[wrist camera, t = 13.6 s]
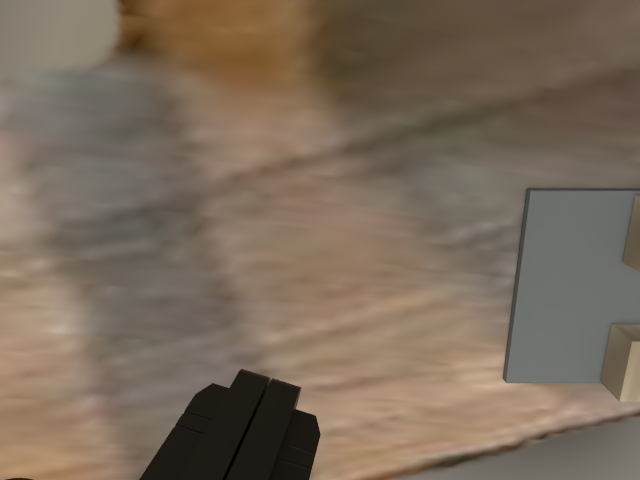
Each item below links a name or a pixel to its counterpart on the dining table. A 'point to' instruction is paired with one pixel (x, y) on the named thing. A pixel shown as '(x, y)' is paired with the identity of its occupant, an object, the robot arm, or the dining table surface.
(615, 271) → the mat
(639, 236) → the tile
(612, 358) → the tile
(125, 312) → the dining table surface
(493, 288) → the dining table surface
